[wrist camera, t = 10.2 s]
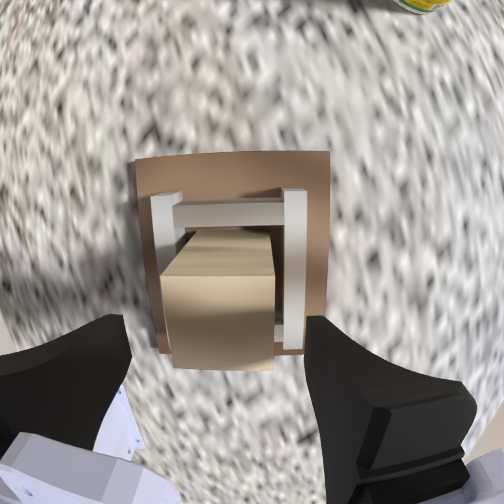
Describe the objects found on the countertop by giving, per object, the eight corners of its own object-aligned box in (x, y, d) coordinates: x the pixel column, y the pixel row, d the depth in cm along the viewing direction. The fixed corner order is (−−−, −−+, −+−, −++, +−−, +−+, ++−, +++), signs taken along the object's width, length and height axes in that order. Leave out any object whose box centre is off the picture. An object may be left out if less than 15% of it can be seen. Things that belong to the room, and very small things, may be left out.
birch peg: (268, 295, 21) (273, 370, 13) (202, 295, 21) (173, 367, 13) (268, 229, 19) (274, 276, 12) (197, 230, 20) (159, 276, 12)
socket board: (319, 346, 23) (327, 374, 20) (162, 346, 23) (150, 373, 20) (326, 151, 19) (340, 150, 16) (140, 159, 19) (118, 160, 16)
